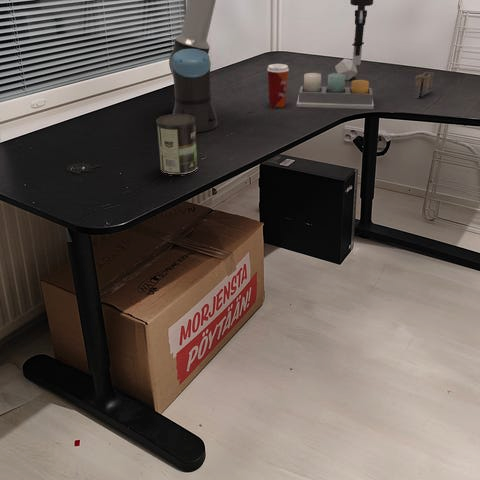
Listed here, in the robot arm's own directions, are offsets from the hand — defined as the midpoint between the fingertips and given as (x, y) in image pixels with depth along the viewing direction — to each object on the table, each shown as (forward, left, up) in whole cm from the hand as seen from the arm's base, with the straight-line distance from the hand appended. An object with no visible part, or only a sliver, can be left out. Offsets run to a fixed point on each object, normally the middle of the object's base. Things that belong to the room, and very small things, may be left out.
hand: (356, 64), depth 212 cm
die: (+11, +33, -14) cm, 37 cm away
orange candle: (+2, -1, -12) cm, 12 cm away
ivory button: (-14, +6, -10) cm, 18 cm away
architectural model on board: (+29, +3, -15) cm, 32 cm away
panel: (-6, +3, -14) cm, 15 cm away
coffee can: (-71, -43, -14) cm, 84 cm away
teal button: (-6, +3, -10) cm, 12 cm away
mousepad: (-94, -36, -15) cm, 102 cm away
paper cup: (-27, +6, -14) cm, 31 cm away
